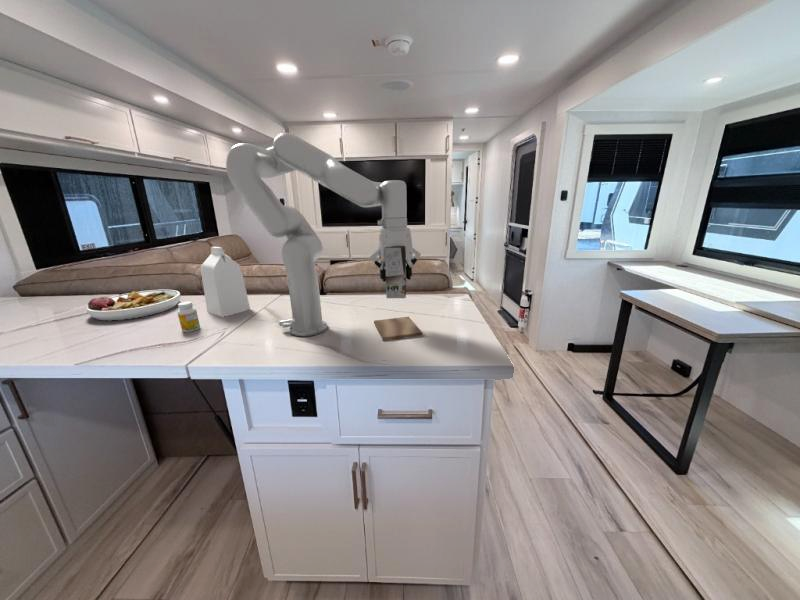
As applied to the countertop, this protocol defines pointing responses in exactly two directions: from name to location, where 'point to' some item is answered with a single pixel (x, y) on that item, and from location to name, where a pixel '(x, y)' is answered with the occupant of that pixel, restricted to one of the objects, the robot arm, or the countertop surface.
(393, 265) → the coffee box
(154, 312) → the plate of food
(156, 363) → the countertop surface
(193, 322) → the supplement bottle
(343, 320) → the countertop surface
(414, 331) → the walnut board
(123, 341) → the countertop surface
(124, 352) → the countertop surface
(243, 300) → the milk
